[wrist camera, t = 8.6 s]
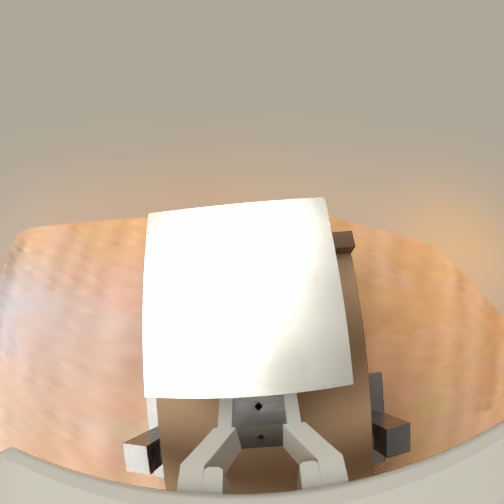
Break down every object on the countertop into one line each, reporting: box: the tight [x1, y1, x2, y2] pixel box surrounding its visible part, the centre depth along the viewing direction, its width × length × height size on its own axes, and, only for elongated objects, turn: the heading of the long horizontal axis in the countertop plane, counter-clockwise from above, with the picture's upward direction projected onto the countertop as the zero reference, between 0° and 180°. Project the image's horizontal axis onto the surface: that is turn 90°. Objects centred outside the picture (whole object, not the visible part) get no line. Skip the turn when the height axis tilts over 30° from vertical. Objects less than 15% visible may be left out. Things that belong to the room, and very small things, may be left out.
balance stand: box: [123, 372, 410, 478], centre depth 17 cm, size 8×19×8 cm, turn 94°
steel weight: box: [143, 197, 353, 399], centre depth 12 cm, size 6×6×8 cm
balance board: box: [156, 231, 375, 494], centre depth 13 cm, size 26×13×5 cm, turn 4°
